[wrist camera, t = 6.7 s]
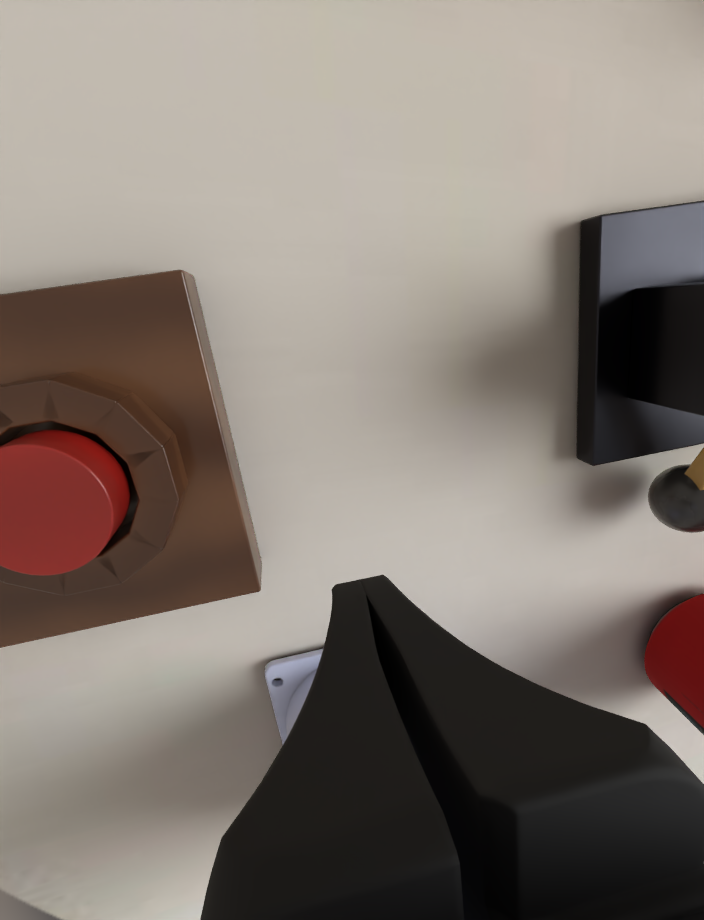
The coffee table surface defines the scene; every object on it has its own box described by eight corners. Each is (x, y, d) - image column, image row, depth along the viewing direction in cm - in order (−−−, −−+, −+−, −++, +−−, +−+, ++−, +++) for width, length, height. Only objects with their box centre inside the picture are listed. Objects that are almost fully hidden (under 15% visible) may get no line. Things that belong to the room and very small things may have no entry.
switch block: (262, 563, 20) (260, 620, 17) (24, 613, 19) (-37, 686, 15) (193, 274, 16) (170, 263, 13) (-110, 316, 15) (-234, 317, 12)
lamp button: (146, 534, 15) (131, 560, 14) (19, 559, 15) (-13, 589, 13) (108, 418, 14) (86, 432, 12) (-32, 442, 14) (-73, 460, 12)
